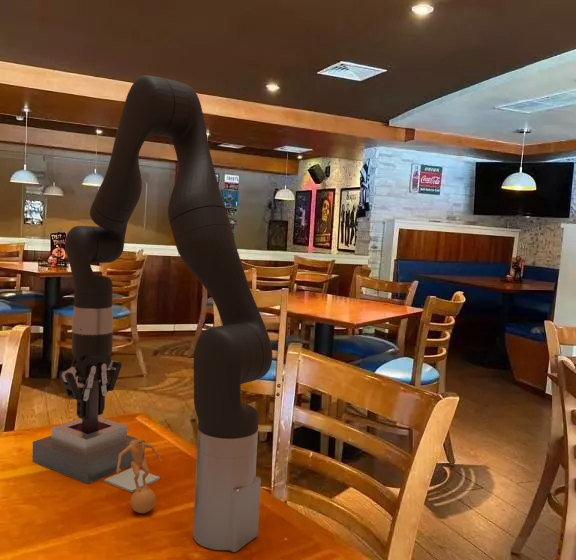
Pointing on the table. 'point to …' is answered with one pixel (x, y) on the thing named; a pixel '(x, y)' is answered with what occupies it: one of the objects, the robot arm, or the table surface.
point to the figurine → (142, 496)
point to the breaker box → (85, 450)
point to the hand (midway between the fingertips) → (90, 415)
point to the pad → (130, 480)
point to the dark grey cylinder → (92, 410)
